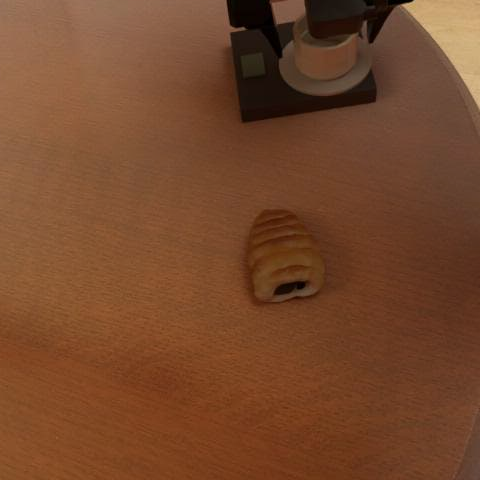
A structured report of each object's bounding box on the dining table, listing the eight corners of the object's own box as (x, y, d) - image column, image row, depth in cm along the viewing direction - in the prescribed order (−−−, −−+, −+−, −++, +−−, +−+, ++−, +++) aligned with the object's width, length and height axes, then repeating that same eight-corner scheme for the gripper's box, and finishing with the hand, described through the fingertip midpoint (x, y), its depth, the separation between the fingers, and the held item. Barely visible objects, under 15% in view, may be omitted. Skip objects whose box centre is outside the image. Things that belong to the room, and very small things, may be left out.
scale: (357, 23, 84) (358, 6, 82) (379, 101, 78) (380, 85, 76) (231, 45, 86) (229, 29, 84) (242, 122, 80) (239, 107, 78)
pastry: (238, 225, 72) (234, 203, 69) (307, 211, 72) (306, 187, 69) (257, 310, 67) (254, 289, 64) (332, 295, 67) (332, 273, 64)
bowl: (350, 34, 80) (351, 0, 77) (362, 76, 77) (363, 43, 73) (290, 44, 81) (288, 11, 77) (299, 87, 78) (297, 54, 74)
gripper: (224, -7, 62) (242, 120, 74) (459, -49, 59) (436, 89, 72) (214, -87, 68) (232, 43, 81) (426, -128, 65) (410, 13, 78)
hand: (324, 48), depth 78 cm, fingers open, 9 cm apart
